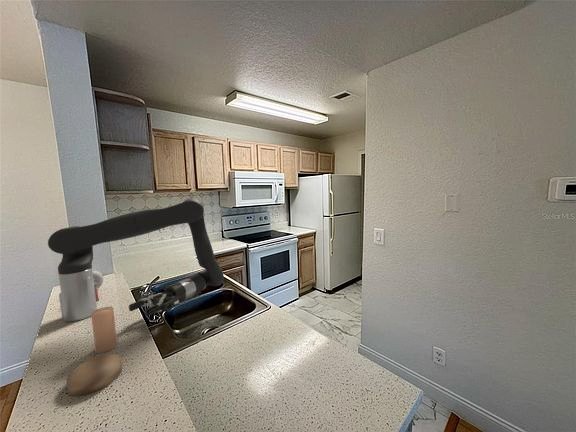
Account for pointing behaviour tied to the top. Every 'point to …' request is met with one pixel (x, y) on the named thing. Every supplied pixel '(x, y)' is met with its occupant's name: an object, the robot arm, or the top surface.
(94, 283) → the lighter
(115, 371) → the brown disc
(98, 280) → the donut
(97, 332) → the tan rounded post
